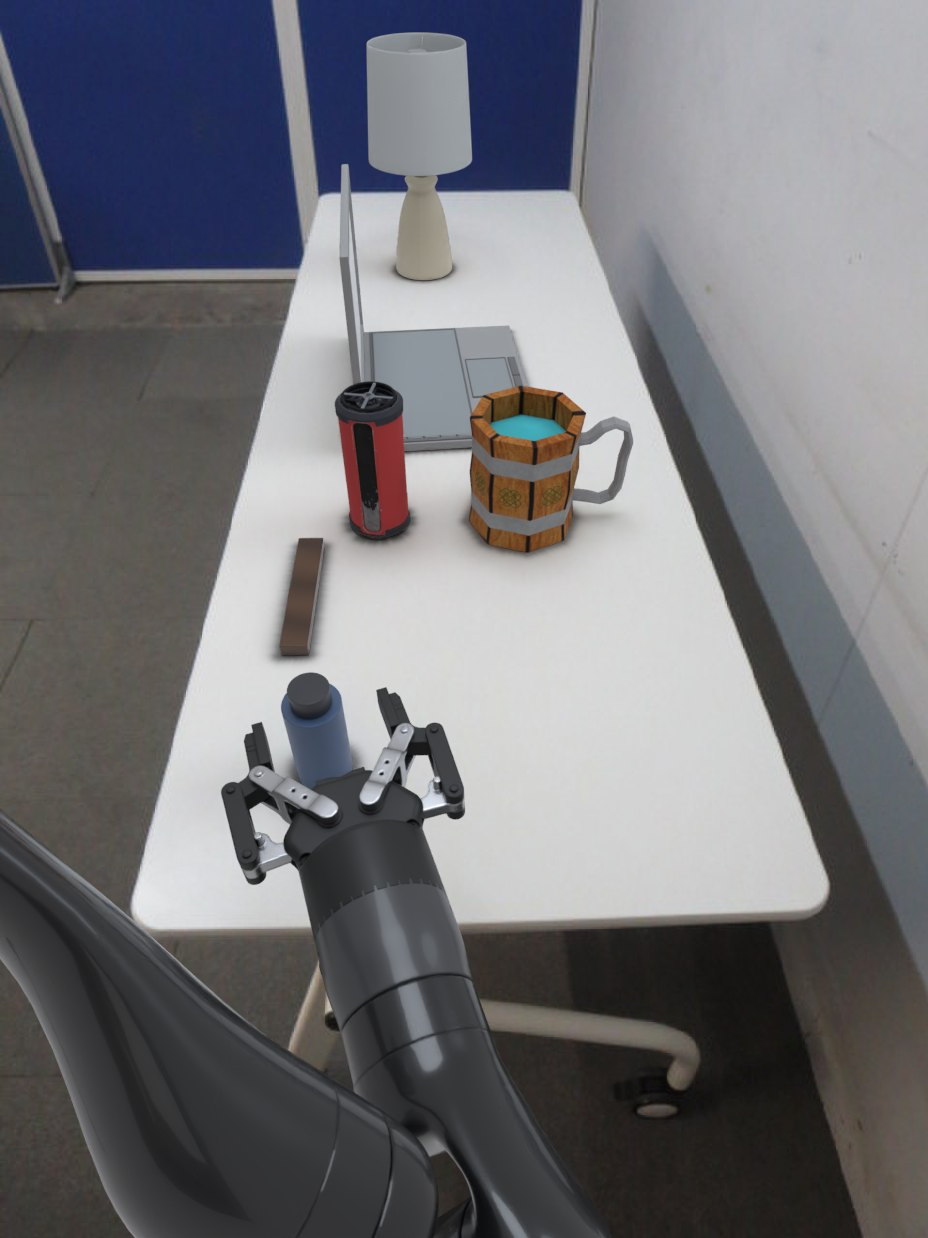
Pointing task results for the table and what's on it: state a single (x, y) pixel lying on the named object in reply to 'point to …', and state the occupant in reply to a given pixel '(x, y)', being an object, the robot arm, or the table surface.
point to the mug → (532, 466)
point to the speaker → (374, 458)
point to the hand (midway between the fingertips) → (321, 713)
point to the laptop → (425, 359)
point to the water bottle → (316, 729)
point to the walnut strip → (302, 597)
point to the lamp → (419, 136)
